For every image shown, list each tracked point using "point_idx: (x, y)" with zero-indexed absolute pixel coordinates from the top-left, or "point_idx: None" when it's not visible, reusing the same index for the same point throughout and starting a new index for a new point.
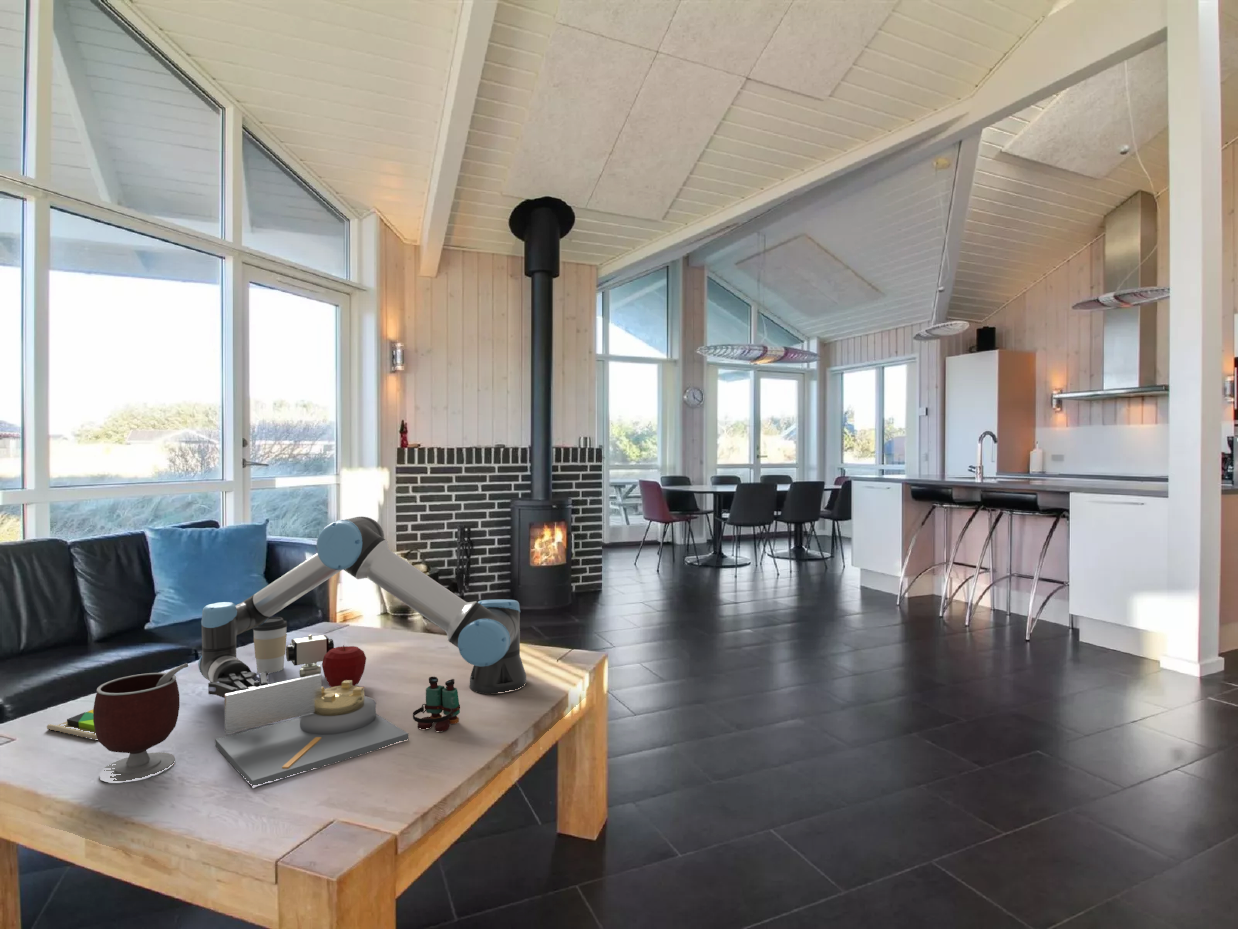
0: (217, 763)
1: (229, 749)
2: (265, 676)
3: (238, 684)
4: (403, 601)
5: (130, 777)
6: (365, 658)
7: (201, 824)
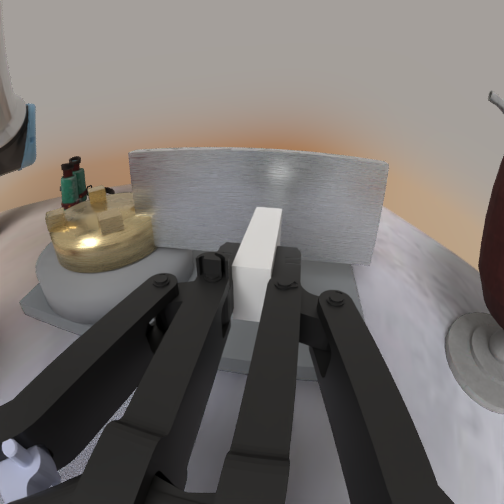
0: (371, 301)
1: (351, 297)
2: (55, 363)
3: (284, 360)
4: None
5: (493, 319)
6: None
7: (386, 216)
